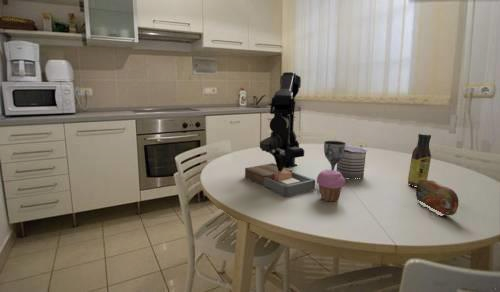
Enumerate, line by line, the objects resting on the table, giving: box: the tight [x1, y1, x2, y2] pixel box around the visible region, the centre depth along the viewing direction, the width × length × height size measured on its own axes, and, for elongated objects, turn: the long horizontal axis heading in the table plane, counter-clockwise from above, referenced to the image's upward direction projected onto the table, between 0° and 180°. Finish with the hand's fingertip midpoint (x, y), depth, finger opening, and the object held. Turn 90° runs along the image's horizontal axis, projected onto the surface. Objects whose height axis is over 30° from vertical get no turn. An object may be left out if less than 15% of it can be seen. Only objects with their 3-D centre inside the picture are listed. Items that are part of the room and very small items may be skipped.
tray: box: [262, 171, 316, 198], centre depth 106 cm, size 14×12×4 cm
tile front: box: [279, 178, 300, 186], centre depth 105 cm, size 6×4×2 cm
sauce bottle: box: [407, 133, 432, 186], centre depth 109 cm, size 7×6×20 cm
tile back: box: [274, 171, 293, 183], centre depth 108 cm, size 6×4×2 cm
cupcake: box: [316, 169, 346, 202], centre depth 96 cm, size 9×9×10 cm
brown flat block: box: [244, 162, 293, 187], centre depth 116 cm, size 14×12×4 cm
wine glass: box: [323, 140, 347, 170], centre depth 115 cm, size 8×8×15 cm
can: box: [335, 144, 368, 180], centre depth 121 cm, size 11×11×12 cm
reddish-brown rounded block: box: [415, 179, 459, 216], centre depth 89 cm, size 15×3×8 cm, turn 5°
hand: (280, 171), depth 109 cm, fingers closed
